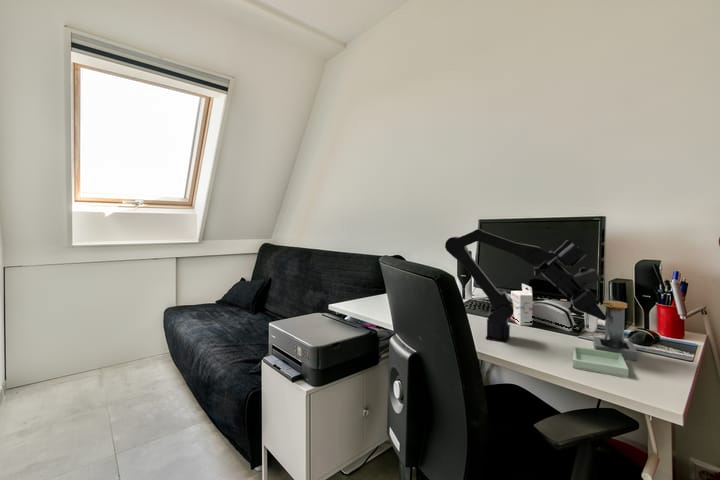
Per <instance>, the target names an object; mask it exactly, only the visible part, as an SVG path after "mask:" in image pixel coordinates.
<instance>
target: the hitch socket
mask: <svg viewBox="0 0 720 480" xmlns="http://www.w3.org/2000/svg"><path fill="white" fill-rule="evenodd" d="M592 342H593V343H592V345H593V349H594V350H601V351H607V352H614V353H621V354H622V356H623V359H624V360H626V361H628V360H629V361H636V362H638V355H639V354H638V351H637V349H636V347H635V345H634V344H633V341H626V340H624V349H623V348H616V347H609V346H605V337H598V336H593V339H592Z"/></svg>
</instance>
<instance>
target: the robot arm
mask: <svg viewBox="0 0 720 480" xmlns="http://www.w3.org/2000/svg"><path fill="white" fill-rule="evenodd" d="M476 242H480V243H483V244H485V245H488V246H491V247H493V248H496V249H499V250H503V251H504V252H508V253H511V254H512V255H515V256H516V257H518V258H520V259H521V260H523V261H525V262H527V263H528V264H531V265H534V266H538V265H540V266H538V267H533V270H534V273H533V275H534V277H536V278H537V277H539V276H540V275H542V276H543V277H544V278H545V279H547V281H549V282H550V283H551V284H552V285H553V286H554V287H555V288H556V289H557V290H559V292H561V293H562V294H563V295H564V296H565V297H566V298H567V299H568V300H569V301H570V304H571V305H572V306H573V307H574V308H575V309H576V310H577V311H579V312H581V313H584V312H585V313H587V314H590V315H592V316H594V317H597V318H598V319H599V320H602V321H605V320H606V319H607V317H606V316H605V313H604V312H603V311H602V309H601V308H600V306H599V307H598V305H599V304H597V300H598V297H597V294H595V293H594V292H593V291H592V290H590V289H588V288H587V286H586V285H589V284H591V283H594V282H599V281H601V277H600V276H599V273H598V272H597V270H596V269H594V268H589V269H588V268H586V267H585V266H582V267H580V268H578V272H577V273H576V274H572V273H570V272H568V271H567V270H566V269H565V268H567V267H571V268H573V267H574V266H576V264H578V263H579V262H580V261H581V260H583V259H584V258H585V257H586V256H588V255H587V253H586V252H585V251H584V250H582V248H580V247H579V246H577V245H576V244H574V243H573V242H572V241H571V240H568V239H567V240H565V241H564V242H563V243H562V245H560V246H559V247H558V248H556V250H554V251H553V250H544V249H543V248H541V247H539V246H538V245H537V246H536V245H531V244H527V243H520V242H515V241H513V240H509V239H506V238H504V237H501V236H498V235H496V234H495V235H494V234H492V233H490V232H486V231H484V230H482V229H479V228H478V229H474V230H472V231H470V232H468V233H467V234H464V235H462V236H452V237H449V238H448V239H447V240H446V241H445V244H444V248H445V250H446V252H448V253H449V255H451V256H452V257H453V258H454V259H456V260H457V261H458V262H459V263H461V264H462V266H463V267H464V269H465V270H466V271H467V272H468V274H470V276H471V278H473V280H474V281H475V282H476V283H477V285H478V287H479V288H480V289H481V290H482V291H483V293H484V294H485V295H486V297H487V299H488V301H489V304H490V306H491V307H492V308H490V309H489V311H488V314H487V319H486V336H485V339H486V340H491V341H496V342H497V341H498V342H503V343H507V342H508V340H510V337H511V325H510V324H509V318H510V319H511V316H512V315H513V312H514V308H513V299H511V296H509V294H508V293H507V291H506V290H503V291H500V289H498V288H497V287H496V286H495V284H494V283H493V282H492V281H491V279H489V277H488V276H487V274H486V273H485V272H484V270H483V269H482V268H481V267H480V266H479V264H478V263H477V262H476V261H475V259H474V258H473V257H472V255H471V254H470V251H469V249H468V247H467V246H469V245H471V244H474V243H476ZM545 261H548V262H545ZM557 261H558V262H557ZM559 263H561V264H562V265H563V266H564V267H565V268H564V267H563V266H562V265H560V264H559Z"/></svg>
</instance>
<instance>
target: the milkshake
mask: <svg viewBox="0 0 720 480" xmlns="http://www.w3.org/2000/svg"><path fill="white" fill-rule="evenodd" d="M597 305H598V307H599V308H600V306H601V302H599V303H598V304H597ZM583 314H584V316H583V317H584V329H585V331H587V332H591V333H596V332H597V329H598V322H599V321H598V319H599V318H597V317H594V316H592V315H590V314H587V313H585V312H583Z"/></svg>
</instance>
